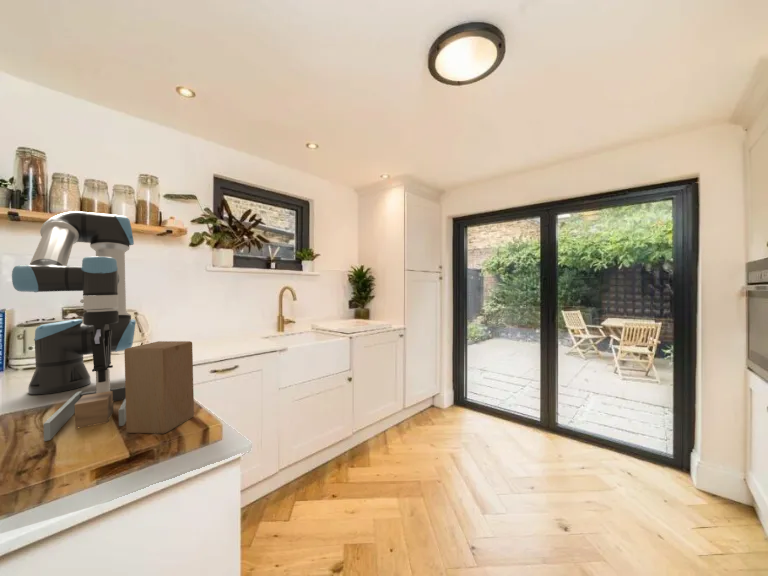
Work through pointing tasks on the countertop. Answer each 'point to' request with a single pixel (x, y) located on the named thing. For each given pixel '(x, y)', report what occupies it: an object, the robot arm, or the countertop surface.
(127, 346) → the robot arm
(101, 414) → the walnut block
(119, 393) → the grey u-shaped frame
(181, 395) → the wooden block
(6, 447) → the countertop surface
